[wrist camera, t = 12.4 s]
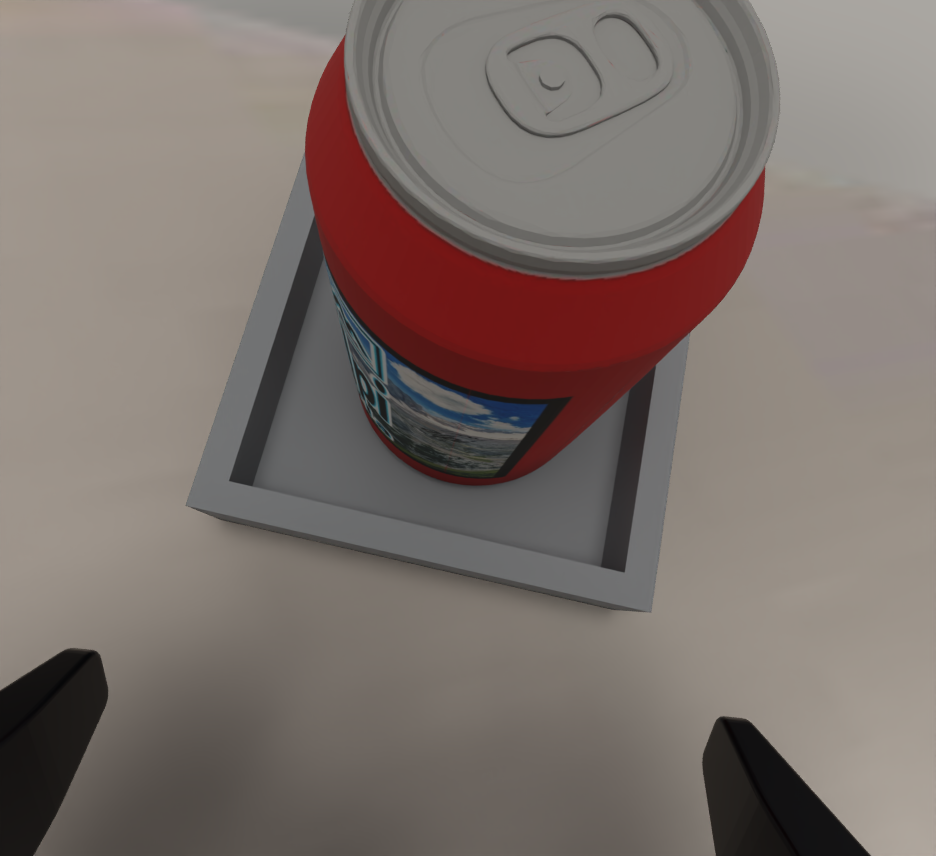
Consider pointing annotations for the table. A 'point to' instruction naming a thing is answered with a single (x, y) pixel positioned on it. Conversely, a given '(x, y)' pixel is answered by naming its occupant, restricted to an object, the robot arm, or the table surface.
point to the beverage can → (531, 208)
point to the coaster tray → (406, 489)
